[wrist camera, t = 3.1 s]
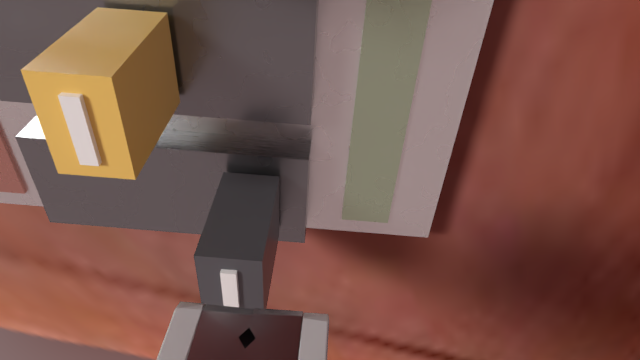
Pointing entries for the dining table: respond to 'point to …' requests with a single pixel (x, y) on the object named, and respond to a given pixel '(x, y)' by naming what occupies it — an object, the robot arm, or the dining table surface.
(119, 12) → the breaker
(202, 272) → the breaker
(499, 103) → the dining table surface
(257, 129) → the panel
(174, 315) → the robot arm
